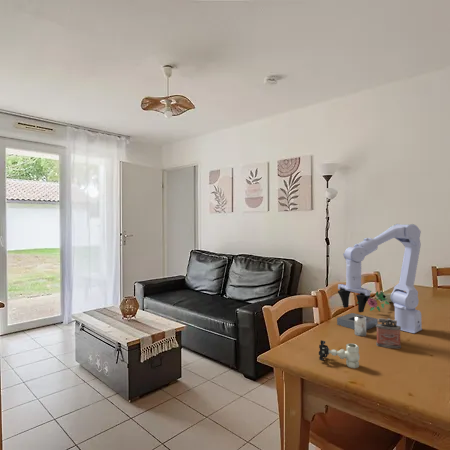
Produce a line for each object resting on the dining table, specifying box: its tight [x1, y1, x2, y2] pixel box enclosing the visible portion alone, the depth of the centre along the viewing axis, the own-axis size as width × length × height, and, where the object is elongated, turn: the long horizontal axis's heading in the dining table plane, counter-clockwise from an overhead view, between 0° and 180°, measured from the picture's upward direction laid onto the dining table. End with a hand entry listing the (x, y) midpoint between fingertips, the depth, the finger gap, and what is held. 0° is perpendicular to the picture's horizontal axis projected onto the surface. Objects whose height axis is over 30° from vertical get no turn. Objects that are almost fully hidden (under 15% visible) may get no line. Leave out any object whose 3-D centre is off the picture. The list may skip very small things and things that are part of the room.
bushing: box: [354, 315, 367, 337], centre depth 131 cm, size 4×4×7 cm
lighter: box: [376, 318, 402, 349], centre depth 119 cm, size 8×3×10 cm, turn 71°
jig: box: [336, 312, 379, 331], centre depth 143 cm, size 12×12×3 cm
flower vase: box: [356, 290, 393, 312], centre depth 169 cm, size 12×12×35 cm
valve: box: [318, 340, 361, 369], centre depth 106 cm, size 7×7×12 cm
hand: (353, 309), depth 133 cm, fingers open, 7 cm apart
